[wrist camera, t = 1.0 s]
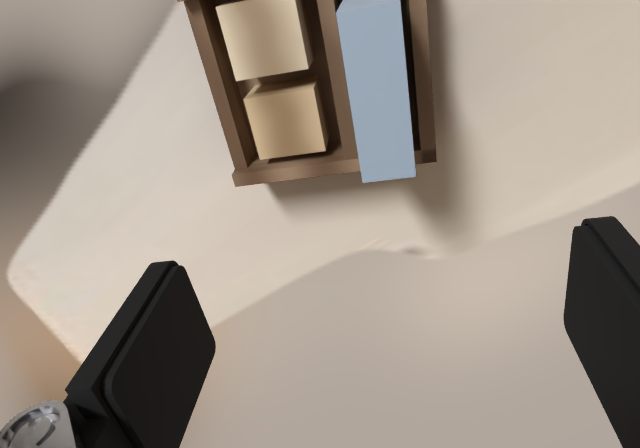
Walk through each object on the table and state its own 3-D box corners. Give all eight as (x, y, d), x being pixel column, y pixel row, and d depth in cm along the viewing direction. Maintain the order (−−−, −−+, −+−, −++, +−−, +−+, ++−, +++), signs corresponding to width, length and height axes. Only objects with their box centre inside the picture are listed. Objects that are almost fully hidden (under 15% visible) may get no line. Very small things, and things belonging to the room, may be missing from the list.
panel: (393, -20, 31) (400, 0, 21) (406, 112, 35) (416, 176, 26) (348, -11, 31) (335, 12, 22) (366, 118, 36) (362, 183, 26)
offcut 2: (319, 74, 34) (313, 88, 31) (329, 133, 37) (325, 151, 34) (254, 85, 35) (243, 99, 32) (269, 141, 38) (259, 159, 35)
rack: (415, -70, 30) (421, -70, 26) (429, 135, 37) (436, 161, 33) (198, -23, 33) (172, -16, 28) (250, 159, 40) (235, 186, 35)
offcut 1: (302, -15, 31) (293, -9, 28) (315, 55, 34) (308, 68, 30) (232, -1, 32) (215, 7, 29) (249, 66, 34) (236, 81, 31)
